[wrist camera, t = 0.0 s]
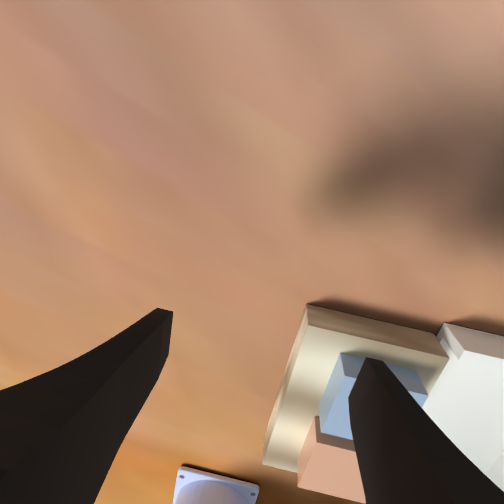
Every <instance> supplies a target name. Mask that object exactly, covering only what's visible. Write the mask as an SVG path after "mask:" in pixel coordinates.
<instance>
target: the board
mask: <svg viewBox="0 0 504 504" xmlns="http://www.w3.org/2000/svg"><path fill="white" fill-rule="evenodd" d="M340 353H343V354H348V355H352V356H356V357H360V358H366V357H369V358H373V359H377V360H381V361H383V362H384V363H386V364H390V365H394V366H399V367H403V368H407V369H412V370H416V371H417V373H418V375H419V377H420V379H421V381H422V383H423V385H424V387H425V389H426V391H427V393H428V395H429V393H430V391H431V390H432V388H433V386H434V385H435V383H436V381H437V380H438V378H439V376H440V374H441V373H442V371H443V369H444V368H445V366H446V364H447V362H448V361H449V359H450V358H449V356H448V355H447V353H446V352H445V350H444V349H443V347H442V346H441V344H440V342H439V341H438V339H437V338H436V336H435V335H434V333H430V332H426V331H422V330H417V329H413V328H409V327H404V326H400V325H396V324H391V323H387V322H383V321H378V320H374V319H370V318H365V317H361V316H357V315H352V314H348V313H344V312H339V311H335V310H331V309H326V308H322V307H318V306H313V305H309V304H306V306H305V310H304V313H303V316H302V319H301V322H300V325H299V329H298V332H297V335H296V338H295V341H294V344H293V348H292V351H291V354H290V357H289V360H288V363H287V367H286V370H285V373H284V376H283V379H282V382H281V385H280V389H279V392H278V395H277V398H276V401H275V404H274V408H273V411H272V414H271V417H270V420H269V423H268V427H267V430H266V433H265V437H264V449H263V461H262V464H263V465H268V466H272V467H276V468H280V469H284V470H288V471H292V472H296V473H297V459H298V457H299V454H300V452H301V449H302V447H303V444H304V442H305V439H306V436H307V434H308V431H309V429H310V426H311V424H312V421H313V419H314V416H315V417H319V408H318V406H319V404H320V401H321V399H322V396H323V394H324V391H325V389H326V386H327V384H328V381H329V379H330V376H331V374H332V371H333V369H334V366H335V364H336V361H337V359H338V356H339V354H340Z"/></svg>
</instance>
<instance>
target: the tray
mask: <svg viewBox="0 0 504 504" xmlns="http://www.w3.org/2000/svg"><path fill="white" fill-rule="evenodd" d="M436 338H437V339H438V341H439V342H440V344H441V346H442V347H443V349H444V350H445V352H446V353H447V355H448V356H449V358H450V359H449V361H448V362H447V364H446V366H445V368H444V369H443V371H442V373H441V374H440V376H439V378H438V380H437V381H436V383H435V385H434V386H433V388H432V390H431V391H430V393H429V396H428V398H427V400H426V401H425V403H424V405H423V406H422V409H423V410H424V411H425V412H426V413H427V415H428V416H429V417H430V418H431V419H432V420H433V421H434V423H435V424H436V425H437V426H438V427H439V428H440V429H441V430H442V431H443V432H444V434H445V435H446V436H447V437H448V438H449V439H450V440H451V441H452V442H453V443H454V444H455V445H456V446H457V448H458V449H459V450H460V451H461V452H462V453H463V454H464V455H465V456H466V457H467V458H468V459H469V460H470V461H472V462H473V463H474V464H475V465H476V466H477V467H478V468H479V469H480V470H481V471H482V472H483V473H484V474H485V475H486V476H487V477H488V478H489V479H490V480H491V481H492V482H493V483H495V484H496V485H497V486H498V487H499V488H500V489H501V490H502V491H504V336H500V335H496V334H491V333H487V332H482V331H478V330H474V329H469V328H465V327H461V326H456V325H452V324H448V323H444V324H443V325H442V327H441V329H440V331H439V333H438V335H437V336H436Z"/></svg>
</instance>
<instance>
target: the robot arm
mask: <svg viewBox="0 0 504 504" xmlns="http://www.w3.org/2000/svg"><path fill="white" fill-rule="evenodd" d="M172 318H173V311H168V310H164V309H160V308H156V309H155V310H153V311H152V312H150V313H149V314H147V315H146V316H144V317H143V318H141V319H140V320H139V321H137V322H136V323H134V324H133V325H131V326H130V327H128V328H127V329H125V330H124V331H122V332H121V333H119V334H117V335H116V336H114V337H113V338H111V339H110V340H108V341H106V342H105V343H103V344H101V345H99V346H98V347H96V348H94V349H93V350H91V351H89V352H87V353H86V354H84V355H82V356H80V357H78V358H76V359H74V360H72V361H70V362H68V363H66V364H64V365H62V366H60V367H58V368H55V369H53V370H51V371H49V372H46V373H44V374H41V375H39V376H36V377H34V378H32V379H29V380H27V381H24V382H22V383H19V384H17V385H14V386H11V387H9V388H6V389H3V390H0V504H94V502H95V500H96V498H97V495H98V493H99V491H100V489H101V486H102V484H103V482H104V480H105V478H106V475H107V473H108V471H109V469H110V467H111V465H112V462H113V460H114V458H115V456H116V454H117V452H118V449H119V448H120V446H121V444H122V442H123V440H124V438H125V436H126V434H127V433H128V431H129V429H130V427H131V426H132V424H133V422H134V420H135V419H136V417H137V415H138V413H139V412H140V410H141V408H142V406H143V405H144V403H145V401H146V399H147V398H148V396H149V394H150V392H151V391H152V389H153V387H154V385H155V384H156V382H157V380H158V378H159V376H160V373H161V371H162V369H163V366H164V364H165V361H166V359H167V357H168V354H169V345H170V336H171V327H172ZM348 403H349V416H350V426H351V432H352V437H353V442H354V447H355V451H356V456H357V461H358V466H359V470H360V475H361V480H362V485H363V489H364V494H365V500H366V504H504V491H502V490H501V489H500V488H499V487H498V486H497V485H496V484H495V483H493V482H492V481H491V480H490V479H489V478H488V477H487V476H486V475H485V474H484V473H483V472H482V471H481V470H480V469H479V468H478V467H477V466H476V465H475V464H474V463H473V462H472V461H470V460H469V459H468V458H467V457H466V456H465V455H464V454H463V453H462V452H461V451H460V450H459V449H458V448H457V446H456V445H455V444H454V443H453V442H452V441H451V440H450V439H449V438H448V437H447V436H446V435H445V434H444V432H443V431H442V430H441V429H440V428H439V427H438V426H437V425H436V424H435V423H434V421H433V420H432V419H431V418H430V417H429V416H428V415H427V413H426V412H425V411H424V410H423V409H422V408H421V406H420V405H419V404H418V403H417V402H416V400H415V399H414V398H413V397H412V395H411V394H410V393H409V392H408V391H407V389H406V388H405V387H404V386H403V384H402V383H401V382H400V381H399V380H398V378H397V377H396V376H395V375H394V373H393V372H392V371H391V370H390V369H389V367H388V366H387V365H386V364H385V363H384V362H383V361H381V360H377V359H373V358H369V357H366V358H365V360H364V363H363V365H362V367H361V369H360V372H359V374H358V376H357V378H356V381H355V383H354V385H353V387H352V390H351V392H350V394H349V396H348ZM258 494H259V486H258V485H256V484H253V483H249V482H245V481H241V480H237V479H233V478H229V477H225V476H221V475H217V474H212V473H208V472H204V471H200V470H196V469H192V468H188V467H184V466H181V467H179V469H178V473H177V479H176V485H175V492H174V498H173V504H255V502H256V500H257V497H258Z"/></svg>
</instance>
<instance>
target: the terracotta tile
mask: <svg viewBox="0 0 504 504" xmlns="http://www.w3.org/2000/svg"><path fill="white" fill-rule="evenodd" d="M297 478H298V487H299V488H303V489H307V490H312V491H316V492H320V493H324V494H328V495H332V496H336V497H340V498H344V499H348V500H352V501H356V502H360V503H364V504H365V503H366V500H365V494H364V489H363V485H362V480H361V475H360V470H359V466H358V461H357V456H356V451H355V447H354V442H353V440H351V439H346V438H342V437H338V436H334V435H330V434H326V433H322V432H321V429H320V419H319V417H315V416H314V419H313V421H312V424H311V426H310V429H309V431H308V434H307V436H306V439H305V442H304V444H303V447H302V449H301V452H300V454H299V457H298V459H297Z"/></svg>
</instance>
